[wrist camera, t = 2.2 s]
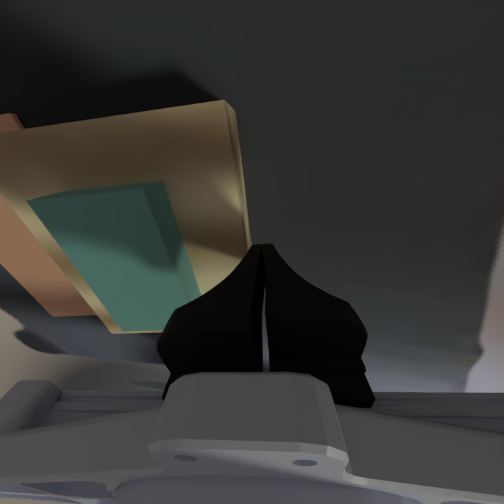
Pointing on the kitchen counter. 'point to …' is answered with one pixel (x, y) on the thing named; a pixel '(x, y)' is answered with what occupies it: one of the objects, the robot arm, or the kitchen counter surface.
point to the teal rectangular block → (124, 249)
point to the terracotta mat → (35, 257)
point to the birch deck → (140, 180)
